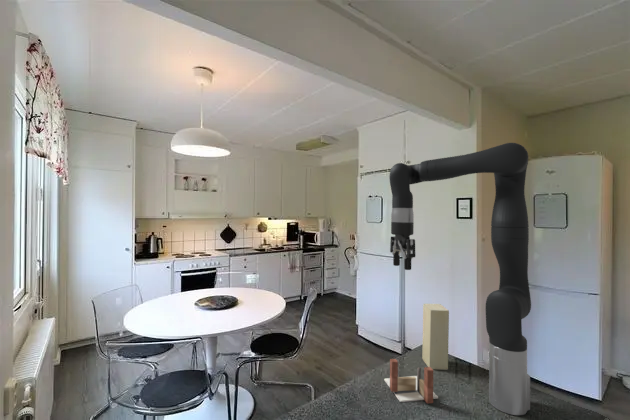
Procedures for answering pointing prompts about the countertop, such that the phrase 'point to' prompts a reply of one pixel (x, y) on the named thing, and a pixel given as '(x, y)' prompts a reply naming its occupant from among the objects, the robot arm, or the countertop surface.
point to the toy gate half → (400, 379)
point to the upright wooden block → (435, 336)
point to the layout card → (408, 393)
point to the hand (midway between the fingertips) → (401, 267)
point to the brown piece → (425, 384)
